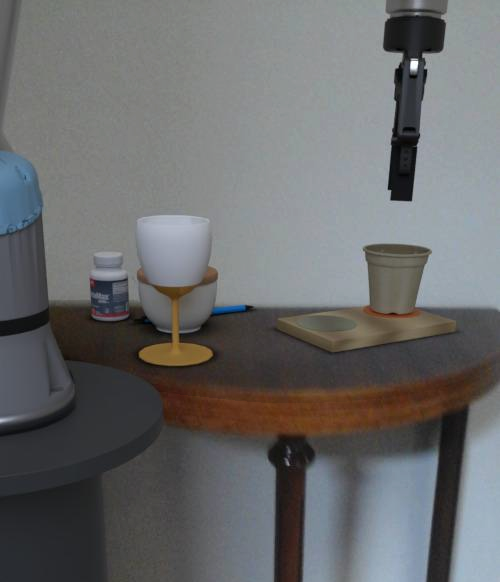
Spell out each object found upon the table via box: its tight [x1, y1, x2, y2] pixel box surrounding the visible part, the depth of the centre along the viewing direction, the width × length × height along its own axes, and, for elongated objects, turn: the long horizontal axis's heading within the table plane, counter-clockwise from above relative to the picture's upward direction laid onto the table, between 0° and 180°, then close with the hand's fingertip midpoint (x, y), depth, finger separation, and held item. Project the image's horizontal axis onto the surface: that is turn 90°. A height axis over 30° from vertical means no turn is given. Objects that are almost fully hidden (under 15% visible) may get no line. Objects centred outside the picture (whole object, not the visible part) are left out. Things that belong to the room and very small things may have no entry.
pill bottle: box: [89, 251, 130, 322], centre depth 116 cm, size 5×5×9 cm
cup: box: [135, 214, 214, 367], centre depth 98 cm, size 9×9×16 cm
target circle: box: [363, 304, 420, 318], centre depth 117 cm, size 8×8×1 cm
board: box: [276, 305, 457, 354], centre depth 113 cm, size 21×13×2 cm, turn 121°
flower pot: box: [362, 242, 433, 315], centre depth 116 cm, size 9×9×9 cm
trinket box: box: [136, 265, 219, 334], centre depth 111 cm, size 11×11×9 cm
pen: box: [132, 304, 255, 324], centre depth 118 cm, size 1×19×1 cm
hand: (398, 195), depth 111 cm, fingers open, 13 cm apart
